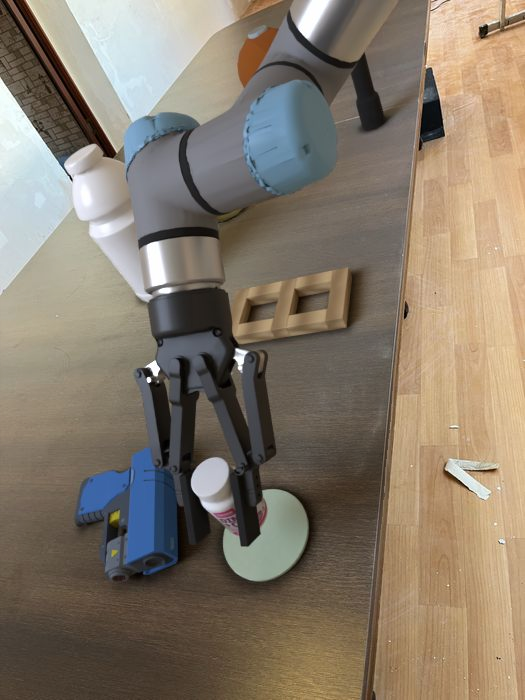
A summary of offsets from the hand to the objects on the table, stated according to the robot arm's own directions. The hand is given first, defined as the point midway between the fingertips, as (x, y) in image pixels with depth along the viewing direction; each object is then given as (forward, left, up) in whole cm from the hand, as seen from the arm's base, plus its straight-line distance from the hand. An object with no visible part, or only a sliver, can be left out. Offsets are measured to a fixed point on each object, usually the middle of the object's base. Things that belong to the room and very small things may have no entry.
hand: (225, 538), depth 46 cm
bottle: (+32, -55, -8) cm, 64 cm away
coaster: (0, -4, -8) cm, 9 cm away
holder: (+3, -39, -8) cm, 40 cm away
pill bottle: (0, -4, -3) cm, 5 cm away
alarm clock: (+22, -137, -8) cm, 139 cm away
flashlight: (-8, -95, -8) cm, 95 cm away
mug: (+22, -76, -8) cm, 79 cm away
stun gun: (+19, -5, -8) cm, 21 cm away
